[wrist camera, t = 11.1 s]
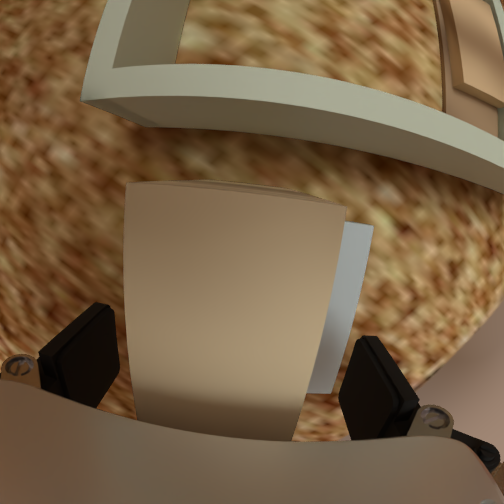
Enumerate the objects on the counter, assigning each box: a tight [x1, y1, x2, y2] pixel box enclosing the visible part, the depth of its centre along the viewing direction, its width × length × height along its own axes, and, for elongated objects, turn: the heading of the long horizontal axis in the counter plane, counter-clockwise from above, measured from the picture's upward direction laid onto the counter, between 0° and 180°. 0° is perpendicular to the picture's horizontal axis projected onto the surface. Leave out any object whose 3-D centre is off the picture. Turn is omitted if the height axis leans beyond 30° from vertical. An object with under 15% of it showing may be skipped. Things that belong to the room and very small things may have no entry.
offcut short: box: [439, 0, 504, 108], centre depth 10 cm, size 8×4×1 cm, turn 176°
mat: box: [306, 221, 374, 394], centre depth 15 cm, size 10×12×1 cm
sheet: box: [123, 180, 347, 441], centre depth 10 cm, size 12×4×9 cm, turn 173°
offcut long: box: [433, 0, 498, 138], centre depth 11 cm, size 11×4×1 cm, turn 174°
